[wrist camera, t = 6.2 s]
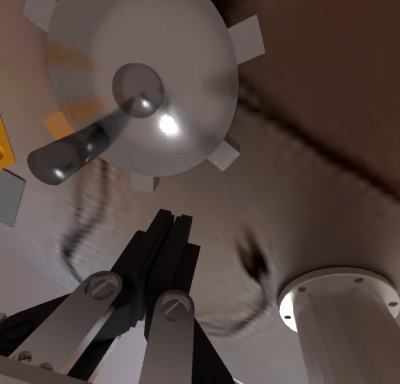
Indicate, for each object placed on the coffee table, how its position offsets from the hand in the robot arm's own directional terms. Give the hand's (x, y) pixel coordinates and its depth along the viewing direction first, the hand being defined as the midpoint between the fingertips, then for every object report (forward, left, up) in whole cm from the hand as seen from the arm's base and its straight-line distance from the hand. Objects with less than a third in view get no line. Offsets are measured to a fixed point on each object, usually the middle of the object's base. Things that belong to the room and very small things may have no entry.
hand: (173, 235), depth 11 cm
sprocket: (+6, -3, -8) cm, 11 cm away
